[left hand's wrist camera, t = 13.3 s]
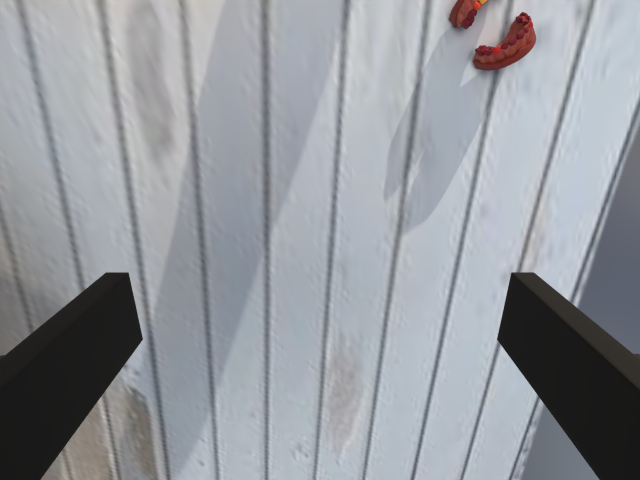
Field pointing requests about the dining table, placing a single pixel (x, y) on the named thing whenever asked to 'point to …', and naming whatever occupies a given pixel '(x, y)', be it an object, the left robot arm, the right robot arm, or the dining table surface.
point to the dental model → (507, 51)
